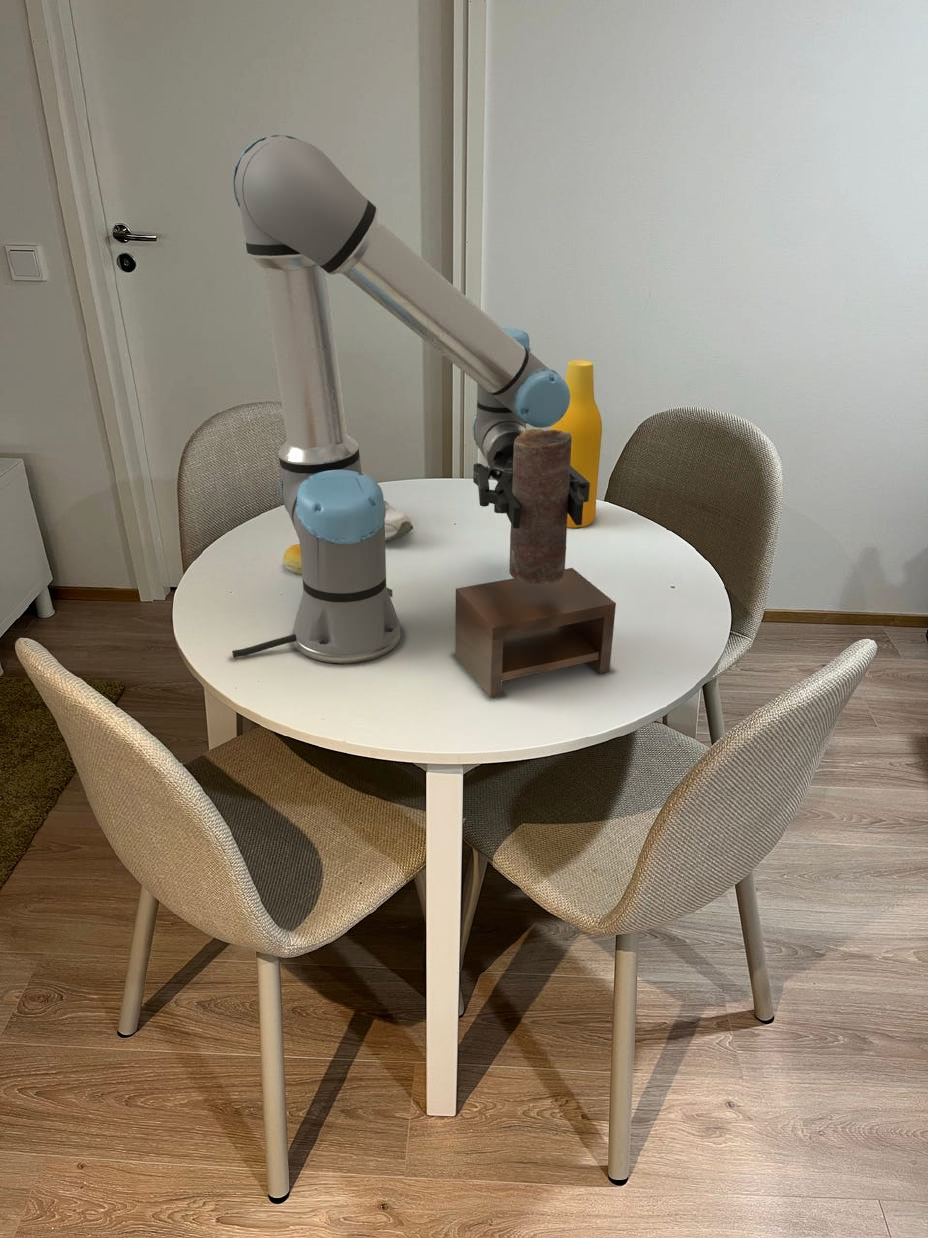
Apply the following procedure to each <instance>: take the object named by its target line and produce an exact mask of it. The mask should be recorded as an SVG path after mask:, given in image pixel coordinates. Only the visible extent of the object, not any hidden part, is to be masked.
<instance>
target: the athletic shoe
mask: <svg viewBox="0 0 928 1238" xmlns="http://www.w3.org/2000/svg"><path fill="white" fill-rule="evenodd" d="M361 472H362V475H367V473H364V472H363V469H361ZM371 478H372V479H373V480H374V478H373V477H371ZM384 503H385V508H386V516H385V542H388V541H391V540H394V539H396V538H399V537H401V536H404V535H405V534H408V533H410V532H411V531H413V530H414V524H413V523H412V520H411V519H410V518H409V517H408V516H407V514H405V513H403V512H401V511H399V510H397V509H396V508H394V507H393V506H392V505H390V504H389V502H387V501H386V500H384Z"/></svg>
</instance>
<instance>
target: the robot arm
mask: <svg viewBox="0 0 928 1238" xmlns="http://www.w3.org/2000/svg"><path fill="white" fill-rule="evenodd" d="M232 176H233V177H232V189H233V194H234V195H233V196H234V199H235V201H236V202H237V206H238V207H239V209H240V216H241V221H242V222H241V223H242V227H243V233H244V240H245V247H246V254H247V256H248V257H249V258H251V260H253V261H254V262H255V263H257V265H259V267H260V269H261V274H262V275H261V276H262V282H263V286H264V289H263V290H264V295H265V302H266V308H267V309H266V310H267V315H268V322H269V329H270V335H271V342H272V348H273V354H274V363H275V368H276V374H277V381H278V389H279V396H280V401H281V402H280V403H281V408H282V409H281V410H282V414H283V422H284V429H285V435H286V440H285V442H284V443H283V444H282V446H281V447H280V448H279V450H278V452H277V454H278V461H279V466H280V467H279V468H280V474H281V479H280V496H281V500H282V503H283V505H284V508H285V510H286V512H287V513H288V515H289V518H290V521H291V523H292V525H293V528H294V530H295V534H296V536H297V538H298V541H299V544H300V550H301V563H302V574H301V575H302V589H303V591H302V595H301V598H300V602H299V605H298V609H297V612H296V615H295V619H294V623H293V624H294V625H293V634H290V635H287V636H282V637H278V638H275V639H272V640H268V641H264V642H262V643H259V644H255V645H253V646H249V647H245V648H241V649H234V650H232V651H231V653H232V657H233V658H239V657H244V656H245V657H246V656H248V655H249V656H250V655H253V654H256V653H259V652H262V651H265V650H268V649H269V650H270V649H272V648H276V647H279V646H282V645H287V644H290V643H293V642H294V645H295V647H296V648H297V650H298V651H299V652H300V653H302V654H303V655H304V656H307V657H308V658H311V659H314V660H315V661H320V662H325V663H331V664H333V663H334V664H354V663H362V662H366V661H370V660H374V659H377V658H379V657H381V656H384V655H386V654H387V653H389V652H391V651H393V649H394V648H396V646H397V645H398V644H399V642H400V639H401V624H400V619H399V616H398V613H397V611H396V609H395V606H394V604H393V601H392V598H394V596H393V589H391V588H389V587H387V559H386V558H387V555H386V541H385V516H386V508H385V503H384V501H385V498H384V493H383V490H382V487H381V486H380V484H379V483H378V482H377V481H376V480H375V479H374V478H373V477H372V476H369V475H367V474H366V475H362V472H361V470H362V463H361V456H360V455H361V454H360V445H359V443H358V442H357V440H355V439H354V438H353V437H352V436H350V435H349V434H348V432H347V425H346V416H345V408H344V400H343V392H342V391H343V390H342V382H341V373H340V367H339V357H338V349H337V348H338V347H337V341H336V332H335V324H334V317H333V315H334V313H333V306H332V298H331V289H330V282H329V275H330V276H331V275H332V276H333V275H337V274H341V275H343V276H344V277H346V279H348V280H349V281H350V282H351V283H353V284H354V285H356V286H357V287H358V288H359V289H361V290H362V291H363V292H364V293H365V294H367V295H368V296H369V297H370V298H371V299H373V300H374V301H375V302H376V303H377V304H379V305H380V306H381V307H383V308H384V309H385V310H386V311H387V312H389V313H390V314H392V315H393V316H394V317H395V318H396V319H397V320H399V321H400V322H401V323H403V325H404V326H406V327H407V328H409V329H410V330H411V331H413V333H415V334H416V335H417V336H418V337H420V338H421V339H422V340H423V341H425V342H426V343H427V344H429V345H430V346H431V347H432V348H433V349H434V350H436V351H437V352H438V353H440V354H441V355H442V356H443V357H445V358H446V359H447V360H448V361H449V362H451V363H452V364H454V365H455V366H456V367H457V368H458V369H459V370H461V371H462V372H463V373H464V374H466V375H467V376H468V377H469V378H470V379H472V380H473V381H474V382H476V414H475V416H474V417H473V421H472V436H473V440H474V441H475V444H476V446H477V448H478V449H479V451H480V452H481V454H482V456H483V458H484V459H485V462H486V464H487V465H483V464H482V463H480V462H477V463H474V464H473V469H472V470H473V473H472V474H473V475H472V476H473V479H472V481H473V483H474V484H475V485H476V486H477V490H478V500H479V506H481V507H482V508H483V507H488V506H490V504H492V505H493V506H494V508H493V512H494V513H496V514H506V516H507V518H508V520H509V522H510V525H511V524H512V526H513V528H520V506H519V504H518V502H517V501H516V499H515V497H514V495H513V493H512V484H513V454H514V440H515V439H516V438H517V437H518V436H520V434H522V433H523V432H524V431H525V430H528V429H527V424H528V425H529V426H532V427H534V428H537V429H543V428H548V427H551V426H552V425H554V424H556V423H557V422H558V421H560V420H561V418H562V417H563V416H564V414H565V413H566V412H567V410H568V407H569V404H570V391H569V388H568V385H567V384H566V380H565V379H564V378H562V377H561V375H560V374H559V373H558V372H557V371H556V370H554V369H550V368H549V367H548V366H547V365H546V364H544V363H543V362H542V361H541V360H540V359H539V358H537V357H536V356H535V355H534V354H533V353H532V352H531V347H530V336H529V334H528V333H527V331H525V330H522V329H519V328H513V327H502V326H501V325H499V324H498V323H497V322H496V321H495V320H494V319H493V318H491V316H489V315H488V314H487V313H486V312H485V311H483V310H482V308H480V307H479V306H477V305H476V304H475V302H473V301H472V300H470V298H468V297H467V296H466V295H465V294H464V293H462V291H460V290H459V289H458V288H457V287H455V285H453V284H452V283H451V282H450V281H449V280H448V279H447V278H445V277H444V276H443V275H442V274H441V273H440V272H439V271H437V270H436V269H435V268H434V267H432V266H431V264H429V263H428V262H427V261H426V260H425V259H424V258H422V257H421V256H420V255H419V254H418V253H417V252H416V251H414V250H413V249H412V248H411V247H410V246H409V245H407V244H406V243H405V242H404V241H403V240H401V238H399V237H398V236H397V235H396V234H395V233H394V232H392V231H391V230H390V229H389V228H388V227H387V226H385V224H383V223H382V222H381V221H380V214H379V209H378V207H377V206H376V205H374V203H372V202H371V201H370V200H369V199H368V198H367V197H365V195H363V194H362V193H361V192H360V191H359V190H358V189H357V188H356V187H355V186H354V184H353V183H352V182H351V181H350V180H349V179H348V178H347V177H346V176H345V175H344V173H342V172H341V170H340V169H339V168H338V167H337V165H336V164H335V163H334V162H333V161H332V160H331V159H330V158H329V156H327V155H326V154H325V153H324V152H323V151H322V150H321V149H319V148H318V147H317V146H315V145H313V144H312V143H309V142H307V141H304V140H301V139H299V138H297V137H295V136H291V135H287V134H286V135H281V134H280V135H279V134H272V135H267V136H263V137H261V138H260V139H257V140H255V141H253V142H252V143H251V144H250V145H248V146H247V147H246V148H245V149H244V150H243V152H242V153H241V154H240V157H238V160H237V162H236V165H235V166H234V171H233V175H232ZM372 478H373V479H372ZM491 478H492V479H493V480H495V481H496V482H497V484H496V485H495V487H494V489H490V480H491ZM589 492H590V482H588V481H587V480H586V479H585V478H584V477H583V476H582V475H581V474H580V473H578V472H577V471H576V470H575V469H574V468H573V467H572V466H571V462H570V479H569V497H568V514H569V515H570V517H571V518H572V520H573V522H574V523H575V525H582V514H583V505H584V502H588V501H589Z"/></svg>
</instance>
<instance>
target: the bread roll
mask: <svg viewBox="0 0 928 1238" xmlns="http://www.w3.org/2000/svg"><path fill="white" fill-rule="evenodd" d="M282 563H283V566H284V568H285V569H286V570H287V571H290V572H291V573H294V574H297V575H302V563H301V550H300V543H296V544H292V545H291V546H289V547H288V548H287V549H286V550H285V551H284V554H283V558H282Z"/></svg>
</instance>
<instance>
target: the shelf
mask: <svg viewBox="0 0 928 1238" xmlns="http://www.w3.org/2000/svg"><path fill="white" fill-rule="evenodd" d="M454 603H455V606H454V607H455V611H454V613H455V615H454V622H455V623H454V625H455V626H454V656H455V658H457V660H458V661H459V662H460V663H461V665H462V666H463V667H464V669H465V670H466V671H467V672H468V673H469V674H470V675H471V676H472V678H473V679H474V680H475V682H476V683H478V685H479V686H480V687H481V688H482V689H483V691H484V692H485V693H486V694H487V696H488V697H489V698H490V699H492V698H496V697H501V696H502V685H503V681H507V680H513V679H516V678H521V677H527V676H530V675H534V674H539V673H544V672H548V671H553V670H558V669H563V668H567V667H571V666H576V665H580V664H584V663H588V664H589V665H590V666H591V667H592V668H593V669H594V670H595V671H596V672H597V673H598V674H604V673H607V672H610V670H611V659H612V649H613V640H614V628H615V619H616V607H617V603H616V602H615V600H613V599H611V598H610V597H609V596H608V595H606V594H605V593H604V592H603V591H602V590H601V589H599V588H598V587H597V586H596V585H595V584H594V583H592V582H590V581H589V580H588V579H587V578H586V577H585V576H583V575H582V574H581V573H580V572H578V571H577V570H575V568H573V567H569V568H565V574H564V579H562V580H561V581H560V582H558V583H550V584H529V583H527V582H524V581H522V580H519V579H517V578H513V577H511V578H507V579H501V580H497V581H496V580H495V581H490V582H485V583H484V582H483V583H477V584H473V585H468V586H462V587H456V588H455V602H454Z"/></svg>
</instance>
